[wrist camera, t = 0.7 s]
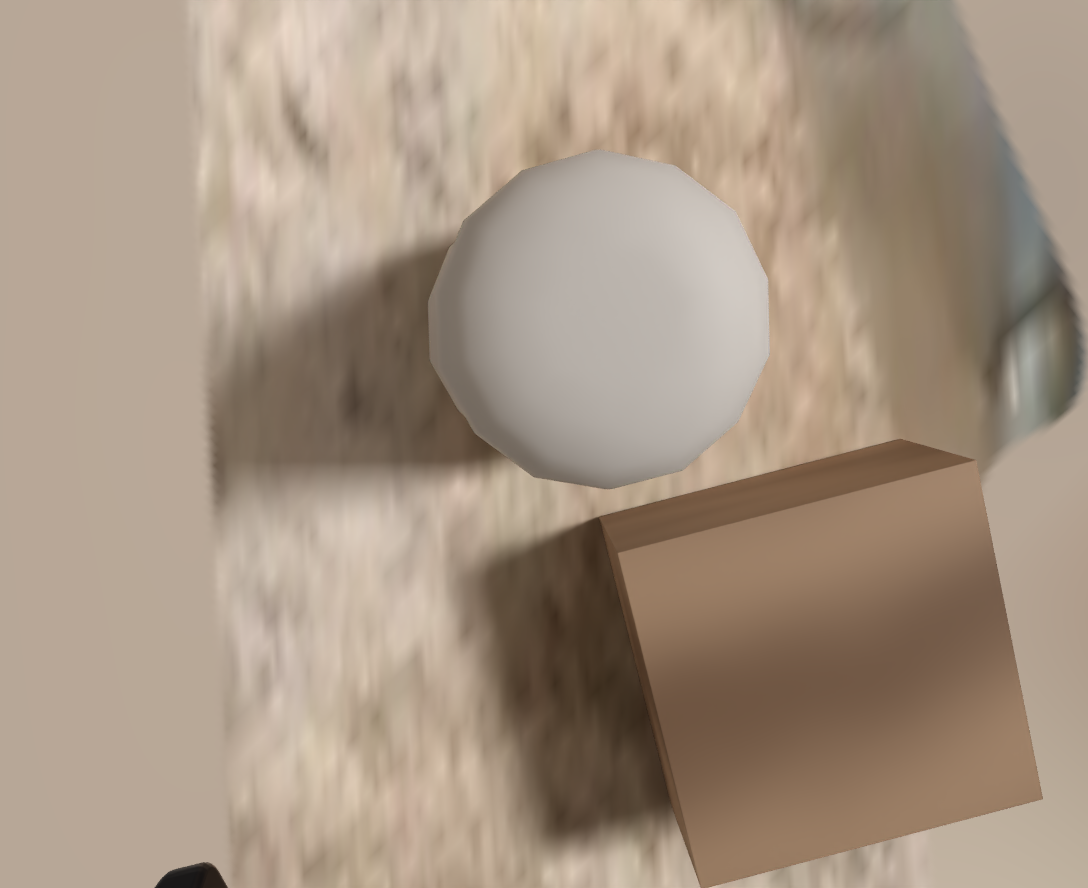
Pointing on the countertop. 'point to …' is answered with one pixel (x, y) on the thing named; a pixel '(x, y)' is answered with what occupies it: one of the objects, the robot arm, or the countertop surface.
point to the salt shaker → (600, 320)
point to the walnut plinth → (824, 657)
